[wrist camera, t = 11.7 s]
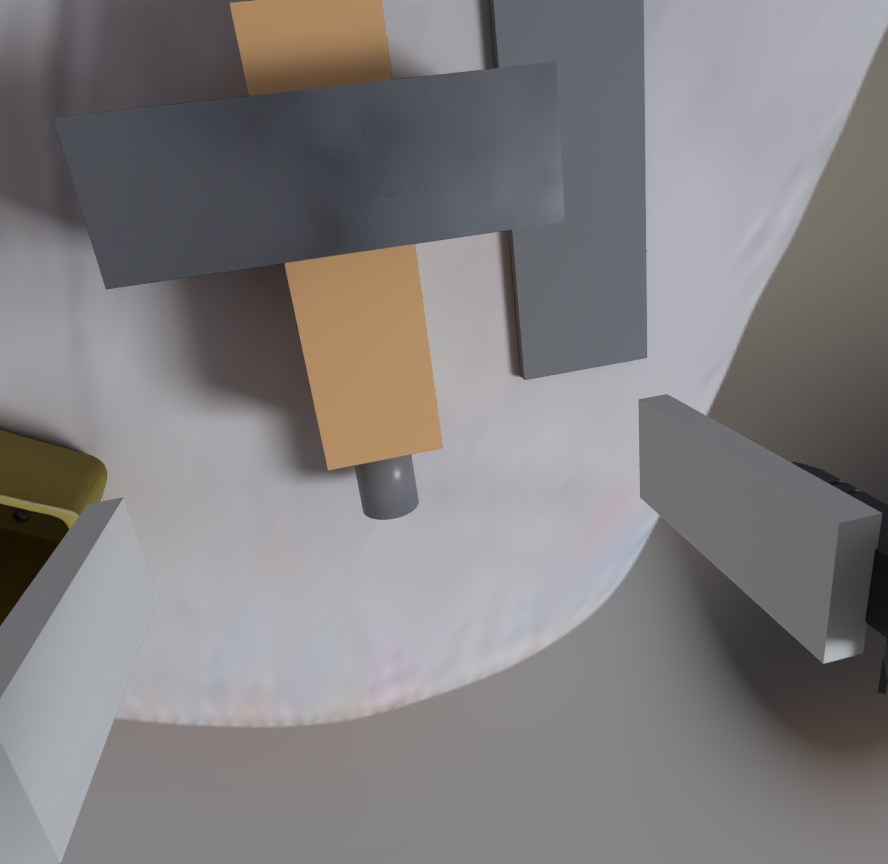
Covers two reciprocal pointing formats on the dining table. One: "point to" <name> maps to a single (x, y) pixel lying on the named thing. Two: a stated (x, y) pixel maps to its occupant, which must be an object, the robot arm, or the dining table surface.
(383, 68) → the plug
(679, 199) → the dining table surface
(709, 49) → the dining table surface
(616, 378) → the dining table surface
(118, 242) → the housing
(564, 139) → the mat
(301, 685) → the dining table surface
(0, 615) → the flower pot
